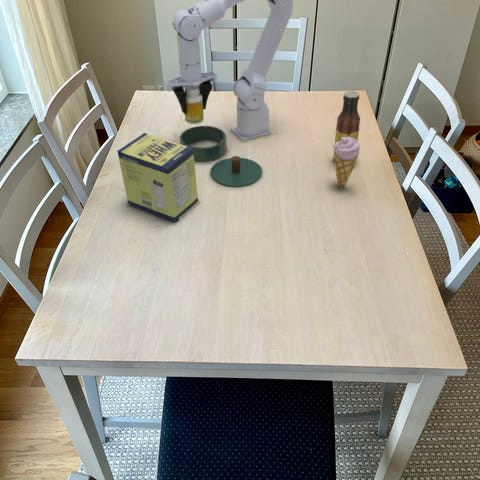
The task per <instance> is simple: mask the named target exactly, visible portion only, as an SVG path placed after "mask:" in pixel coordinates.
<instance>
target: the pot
mask: <svg viewBox="0 0 480 480" xmlns="http://www.w3.org/2000/svg"><path fill="white" fill-rule="evenodd" d="M224 131H225V130H223V129H221V128H218V127H216V126H211V125H197V126H192V127H189V128H187V129H185V130H184V131H182V132H181V134H180V135H179V144H181V145H184V146H188V147H191V148H193V153H194V163H209V162H214V161H216V160H219V159H221V158H222V157H224V156H225V155H226V153H227V150H228V149H227V147H228V146H227V135H226V133H225V132H224ZM199 141H211V142H216V143H217V144H214V145H211V146H205V147H199V146H198V147H197V146H193V145H190V144H191V143H195V142H199Z"/></svg>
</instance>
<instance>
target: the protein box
mask: <svg viewBox="0 0 480 480" xmlns="http://www.w3.org/2000/svg"><path fill="white" fill-rule="evenodd" d="M116 152H117V157H118V161H119V166H120V170H121V176H122V180H123V185H124V190H125V195H126V200H127V203H128V206H131V207H134V208H137V209H139V210H141V211H144V212H147V213H150V214H152V215H155V216H157V217H160V218H163V219H165V220H167V221H170V222H172V223H176V222H178V220H179V218H180V217H182V216H183V215H184V214H185V213H186V212H187V211H189V210H190V209H191V208H192V207H193V206H195V204H196V203H198V202H199V195H198V187H197V186H198V185H197V175H196V166H195V163H196V162H195V161H194V153H193V148H191V147H188V146H184V145H181V144H180V143H178V142H174V141H171V140H168V139H164V138H161V137H158V136H154V135H151V134H148V133H145V132H144V133H142V134H141V135H138V136H137V137H136V138H134V139H133V140H132V141H130V142H129V143H127V144H125V145H124V146H122V147H121V148H119V149H118V150H117V151H116Z"/></svg>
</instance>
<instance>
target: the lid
mask: <svg viewBox="0 0 480 480" xmlns="http://www.w3.org/2000/svg"><path fill="white" fill-rule="evenodd" d="M209 174H210V177H211V179H212V180H213V181H214V182H215V183H216V184H218V185H221V186H223V187H229V188H243V187H248V186H250V185H253V184H255V183H257V182H258V181H259V180H260V179H261V178H262V175H263V168H262V166H261V165H260V164H259V163H258V162H257V161H255V160H252V159H249V158H246V157H240V156H238V155H233V156H232V157H228V158H224V159H221V160H218V161H217V162H215V163H214V164H213V165H212V166H211V167H210V171H209Z"/></svg>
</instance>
